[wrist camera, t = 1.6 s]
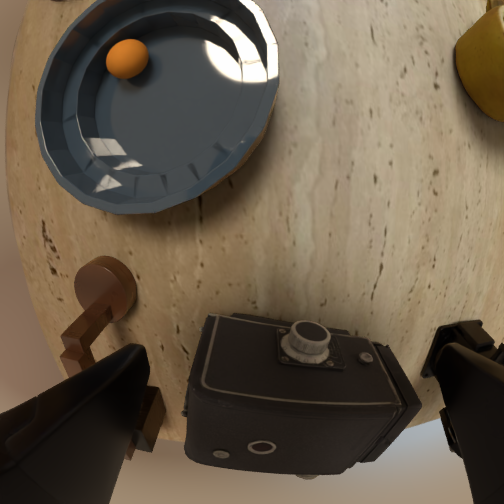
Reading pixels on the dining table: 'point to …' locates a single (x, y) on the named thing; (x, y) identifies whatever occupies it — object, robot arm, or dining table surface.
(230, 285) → the dining table surface
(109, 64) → the orange ball
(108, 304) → the ladle
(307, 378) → the camera
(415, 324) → the dining table surface
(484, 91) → the mug
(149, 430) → the dark upright block
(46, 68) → the bowl
